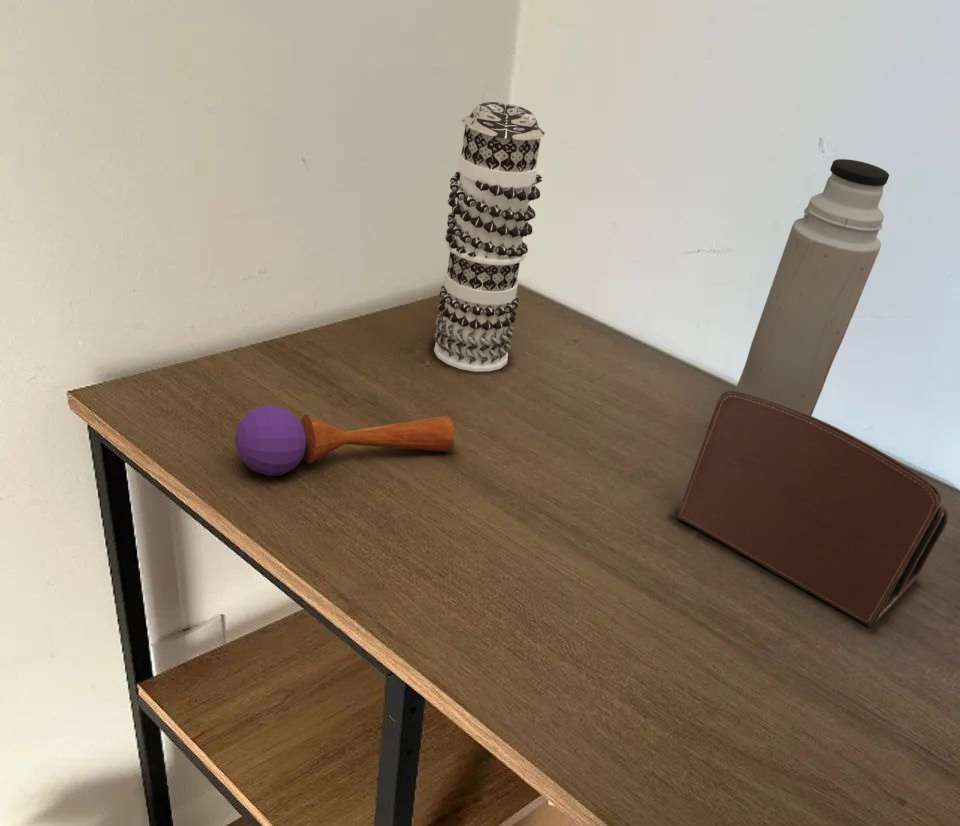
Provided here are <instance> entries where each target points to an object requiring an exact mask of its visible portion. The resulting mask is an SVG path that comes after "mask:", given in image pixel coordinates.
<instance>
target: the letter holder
mask: <svg viewBox="0 0 960 826" xmlns="http://www.w3.org/2000/svg"><path fill="white" fill-rule="evenodd" d="M715 405H716V406H715V407H714V410H713V413H712V415H711V420H710V422H709V424H708V427H707V431H706V433H705V437H704V439H703V442H702V445H701V448H700V450H699V453H698V456H697V459H696V462H695V464H694V467H693V470H692V473H691V476H690V479H689V482H688V483H687V486H686V490H685V492H684V495H683V498H682V500H681V503H680V507H679V508H678V512H677V515H676V518H677V519H678V520H679V521H681V522H683V523H685V524H687V525H689V526H690V527H692V528H694V529H696V530H698V531H700V532H701V533H703V534H704V535H707V536H709V537H710V538H712V539H714V540H716V541H718V542H719V543H721V544H723V545H724V546H726V547H728V548H730V549H731V550H733V551H735V552H737V553H739V554H740V555H742V556H743V557H745V558H747V559H749V560H751V561H753V562H754V563H756V564H758V565H760V566H761V567H763V568H765V569H766V570H768V571H770V572H772V573H773V574H775V575H777V576H779V577H780V578H782V579H784V580H785V581H787V582H789V583H790V584H792V585H794V586H796V587H798V588H800V589H802V590H803V591H805V592H807V593H808V594H810V595H812V596H813V597H816V598H817V599H818V600H821V601H822V602H824V603H826V604H827V605H830V606H831V607H833V608H834V609H836V610H838V611H840V612H842V613H843V614H846V615H847V616H849V617H851V618H853V619H854V620H856V621H858V622H859V623H861V624H863V625H864V626H866V627H867V628H870V629H871V627H872V626H874V625H875V624H876V623H877V622H878V621H879V620H880V619H881V618H882V617H883V615H885V614H886V612H887V611H888V610H889V609H890V608H891V607H893V605H895V603H896V602H897V601H898V600H899V599H901V597H902V596H903V594H904V593H905V592H906V591H908V589H909V588H910V587H911V586H912V585H913V583H915V581H916V580H917V578H918V576H919V575H920V574H921V571H922V570H923V568H924V567H925V564H926V563H927V561H928V559H929V557H930V555H931V553H932V552H933V549H934V548H935V546H936V544H937V543H938V541H939V539H940V537H941V536H942V534H943V532H944V531H945V529H946V528H947V525H948V523H949V513H948V510H947V509H946V507H944V506H943V505H942V496H941V495H942V494H941V492H940V490H939V489H938V488H937V487H936V486H935V485H934V484H932V483H931V482H930V481H929V480H928V479H925V477H922V475H919V474H918V473H917V472H915V471H913V470H912V469H910V468H909V467H908V466H906V465H904V464H903V463H902V462H900V461H898V460H897V459H894V458H893V457H891V456H889V455H887V454H886V453H884V452H882V451H881V450H879V449H877V448H875V447H874V446H872V445H870V444H868V443H866V442H864V441H863V440H861V439H859V438H857V437H855V436H854V435H852V434H849V433H847V432H845V431H844V430H841V429H840V428H838V427H836V426H834V425H831V424H829V423H827V422H826V421H823V420H821V419H819V418H816V417H814V416H813V415H812V416H809V415H807V414H804V413H802V412H799V411H796V410H793V409H791V408H788V407H785V406H783V405H780V404H777V403H774V402H771V401H768V400H765V399H762V398H759V397H756V396H752V395H749V394H746V393H743V392H738V391H735V390H727V391H725V392H723V393H722V394H721V395H720V397H719V398H718V399H717V403H716V404H715Z"/></svg>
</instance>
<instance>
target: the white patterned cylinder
mask: <svg viewBox="0 0 960 826" xmlns="http://www.w3.org/2000/svg"><path fill="white" fill-rule="evenodd" d="M461 123H462V124H463V125H464V131H463V138H462V147H461V148H462V149H461V150H460V152H459V157H458V165H457V171H455V173H454V175H453V176H451V177H450V180H449V181H450V184H449V188H450V190H451V191H450V192H449V194H448V197H449V198H448V199H447V204H448V206H449V207H451V212H449V213H448V215H447V222H446V223H447V224H446V225H447V228H446V235H445V236H444V240H445V241H446V243H445V246H446V248H447V249H448V250H449V255H448V256H449V257H448V267H447V268H446V270H445V274H444V276H445V277H444V284H443V285H441V287H440V290H439V296H440V297H441V299H440V300H439V304H438V307H437V309H438V311H440V313H439V314H438V315H437V317H436V320H435V326H436V330H435V334H434V335H433V336H434V340H435V345H434V348H433V352H434V354H435V356H436V357H437V358H438V359H439V360H440V361H441V362H443V363H445V364H446V365H448V366H450V367H453V368H457V369H459V370H463V371H469V372H473V373H474V372H475V373H476V372H477V373H478V372H479V373H480V372H481V373H482V372H492V371H493V372H494V371H497V370H501V369H502V368H503V367H505V366H506V365H507V364H508V358H509V353H508V352H510V351H511V345H512V341H511V340H510V339H512V338H513V337H514V334H513V333H514V327H513V326H512V324H513V323H515V322H516V316H517V313H516V311H515V310H516V309H517V308H518V307H519V303H518V302H519V298H518V296H517V292H518V286H519V280H518V276H519V272H520V271H519V270H520V266H521V264H520V263H521V262H523V261H524V260H526V254H527V253H528V252H529V248H528V245H527V244H526V242H524V241H523V239H524V237H525V238H526V237H527V236H529V235H532V234H533V225H532V224H530V223H529V221H531V220H533V219H535V217H536V211H535V209H534V208H533V207H532V206H530V202H531V201H533V202H534V201H535V200H538V199H539V198H540V197H541V190H540V189H539V188H538V187H537V186H536V185H538V184H539V183H541V182H543V179H542V178H543V177H542V176H541V174H538V168H539V164H538V163H537V162H538V158H539V151H540V145H541V140H542V138H544V137H545V131H544V130H543V129H542V128H540V127H539V124H538V120H537V118H536V116H535V114H534V113H533V112H531V111H530V110H529V109H527V108H524V107H522V106H518V105H515V104H511V103H506V102H500V101H499V102H497V101H487V102H483V103H479V104H477V105H476V106H475V107H474V108H473V110H472V111H471V113H470V114H469V115H466V116H464V117H462V120H461Z"/></svg>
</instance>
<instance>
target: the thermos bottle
mask: <svg viewBox="0 0 960 826" xmlns="http://www.w3.org/2000/svg"><path fill="white" fill-rule="evenodd" d="M829 171H830V173H831V174H830V176H829V177H828V178H827V179H826V183H825V186H824V188H823V191H822V192H820V193H817V194H814V195H813V196H811V197H810V198H809V201H808V204H807V207H805V208H804V210H803V214H804V215H803V217H801V218H798V219H796V220H794V222H793V224H792V225H791V229H790V231H789V235H788V238H787V240H786V243H785V246H784V249H783V252H782V255H781V257H780V261H779V263H778V265H777V266H778V267H777V269H776V272H775V275H774V277H773V280H772V283H771V286H770V289H769V292H768V294H767V298H766V300H765V303H764V307H763V309H762V312H761V315H760V318H759V321H758V323H757V327H756V330H755V333H754V336H753V338H752V341H751V344H750V347H749V350H748V354H747V358H746V361H745V364H744V367H743V369H742V372H741V375H740V378H739V380H738V382H737V385H736V388H735V390H734V391H738V392H743V393H746V394H749V395H752V396H756V397H759V398H762V399H765V400H768V401H771V402H774V403H777V404H780V405H783V406H785V407H788V408H791V409H793V410H796V411H799V412H802V413H804V414H807V415H809V416H812V417H813V413H814V411H815V409H816V406H817V403H818V401H819V399H820V396H821V395H822V392H823V389H824V387H825V383H826V380H827V378H828V375H829V373H830V370H831V368H832V365H833V363H834V360H835V358H836V356H837V354H838V351H839V349H840V347H841V345H842V343H843V340H844V339H845V335H846V333H847V331H848V328H849V326H850V324H851V321H852V319H853V316H854V314H855V312H856V309H857V306H858V304H859V302H860V299H861V297H862V294H863V292H864V289H865V287H866V284H867V281H868V279H869V277H870V275H871V272H872V270H873V267H874V265H875V262H876V261H877V258H878V256H879V253H880V250H881V247H882V243H881V240H880V239H879V238H878V234H879V231H881V230H882V229H883V221H884V218H885V215H884V213H883V211H882V210H881V209H880V207H879V204H880V203H881V199H882V198H883V194H884V187H885V185H887V183H888V180H889V179H890V178H889V177H890V174H889V172H888V171H887V170H885V169H883V168H882V167H879V166H876V165H874V164H871V163H868V162H864V161H861V160H857V159H855V160H854V159H847V158H837V159H834V160H833V161H832V163H831V165H830V169H829Z"/></svg>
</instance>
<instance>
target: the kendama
mask: <svg viewBox="0 0 960 826" xmlns="http://www.w3.org/2000/svg"><path fill="white" fill-rule="evenodd" d="M455 437H456V432H455V426H454V423H453V420H452V419H451V417H450V416H448V415H443V416H436V417H435V416H434V417H429V418H423V419H416V420H409V421H403V422H397V423H390V424H384V425H378V426H371V427H364V428H358V429H352V430H346V431H344V430H341V429H340V428H338V427H335V426H332V425H331V424H328V423H326V422H324V421H321V420H319V419H317V418H314V417H312V416H309V415H307V414H304V415H303V416H302V417H301V419H300V420H299V418H298V417H297V416H296V415H295V414H294V413H293V412H292V411H291V410H289V409H285V408H283V407H281V406H278V405H274V404H273V405H272V404H269V405H268V404H267V405H266V404H265V405H263V404H261V405H259V406H257V407H255V408H252V409H250V410H248V411H247V412H246V413H245V415H244V416H243V417H242V418H241V420H240V421H239V422H238V424H237V428H236V431H235V435H234V446H235V448H236V450H237V453H238V456H239V458H240V460H241V461H242V462H243V464H245V465H246V466H247V467H248V468H249V469H250V470H251V471H254V472H256V473H257V474H258V473H259V474H261V475H264V476H267V477H271V476H272V477H274V476H283V475H285V474H286V473H288V472H291V471H293V470H294V469H296V467H297V466H298V465H299V464H300V462H301V461H302V460H303V459H304V461H305V463H307V464H312V463H313V462H315V461H317V460H319V459H320V458H323V457H325V456H326V455H328V454H329V453H331V452H333V451H335V450H337V449H338V448H339V449H340V448H341V447H343V446H345V445H353V446H366V447H379V448H393V449H406V450H420V451H432V452H444V453H448V452H450V451H452V449H453V447H454V445H455V440H456V439H455Z"/></svg>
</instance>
